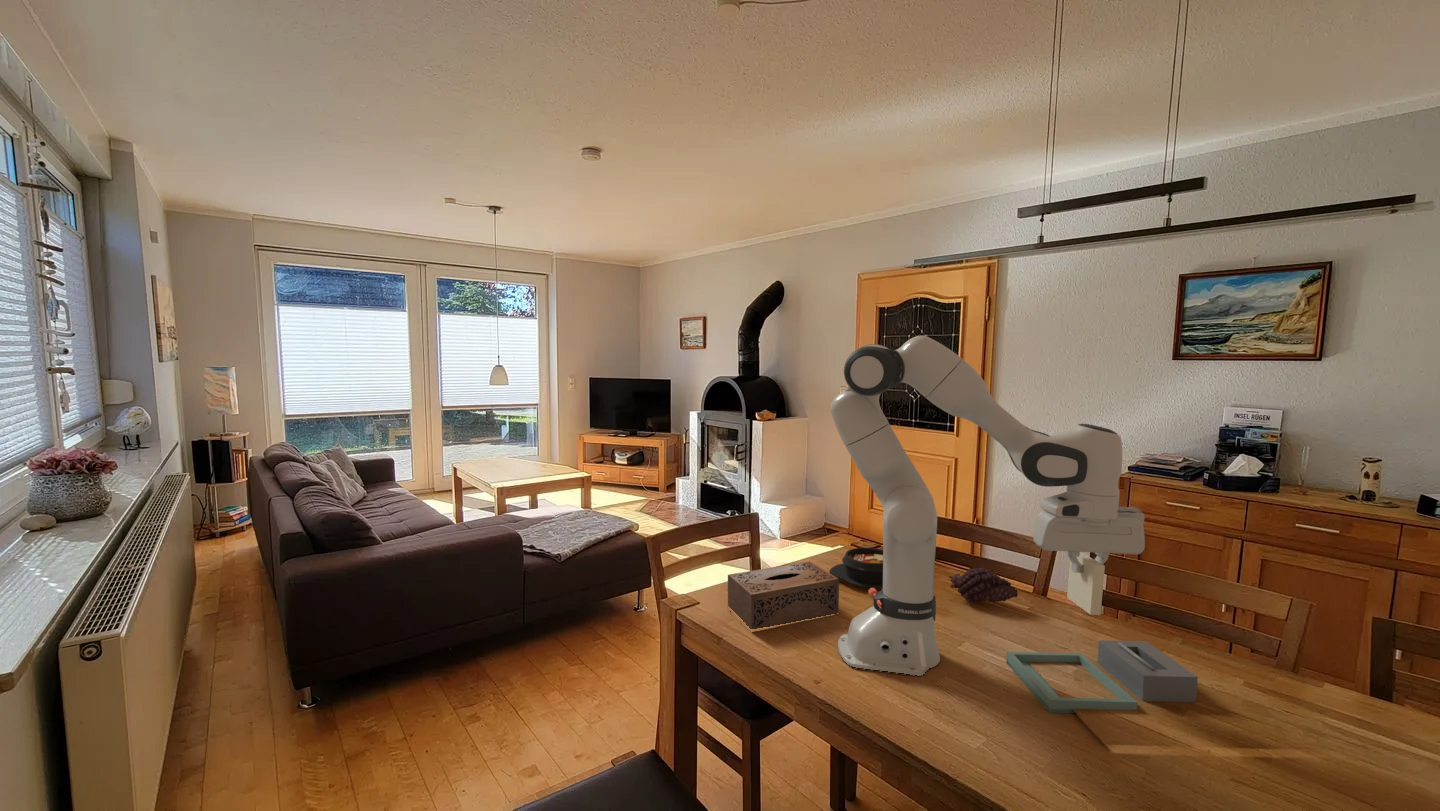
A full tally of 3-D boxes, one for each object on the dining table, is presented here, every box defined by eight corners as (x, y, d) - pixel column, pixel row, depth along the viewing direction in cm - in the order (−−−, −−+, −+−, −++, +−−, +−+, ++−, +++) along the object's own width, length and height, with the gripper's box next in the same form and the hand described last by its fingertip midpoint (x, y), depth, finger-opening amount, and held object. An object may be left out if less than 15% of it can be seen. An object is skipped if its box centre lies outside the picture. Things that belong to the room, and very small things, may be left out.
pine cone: (1019, 605, 155) (1020, 569, 154) (1014, 618, 147) (1015, 581, 146) (951, 590, 165) (951, 557, 164) (943, 602, 156) (944, 567, 156)
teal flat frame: (1049, 712, 107) (1050, 700, 107) (1006, 662, 125) (1006, 651, 125) (1136, 714, 106) (1137, 702, 106) (1080, 664, 124) (1081, 653, 124)
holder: (1142, 705, 109) (1143, 672, 109) (1097, 666, 123) (1098, 637, 123) (1195, 706, 109) (1197, 673, 108) (1144, 667, 123) (1146, 638, 122)
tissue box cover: (809, 595, 163) (809, 561, 162) (838, 615, 150) (838, 578, 149) (727, 610, 153) (727, 574, 152) (751, 633, 140) (751, 594, 139)
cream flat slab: (1090, 614, 111) (1094, 565, 110) (1067, 597, 119) (1070, 551, 118) (1100, 615, 111) (1104, 565, 110) (1076, 597, 119) (1080, 551, 118)
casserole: (819, 583, 171) (820, 556, 170) (842, 564, 186) (842, 540, 186) (903, 602, 157) (903, 572, 157) (920, 580, 173) (920, 553, 172)
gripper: (1133, 503, 116) (1127, 568, 117) (1032, 499, 117) (1027, 564, 118) (1156, 511, 110) (1149, 580, 111) (1048, 507, 110) (1043, 576, 112)
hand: (1085, 572), depth 114 cm, fingers closed on cream flat slab, 2 cm apart
